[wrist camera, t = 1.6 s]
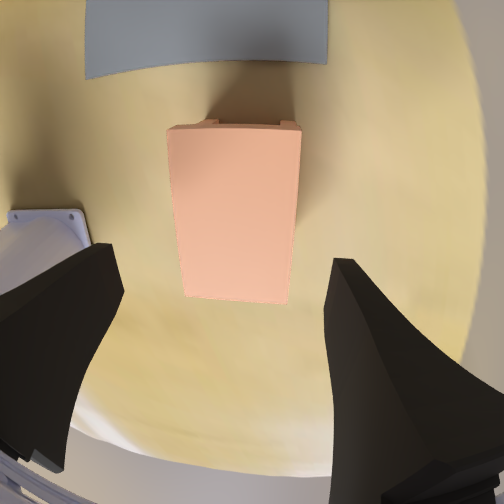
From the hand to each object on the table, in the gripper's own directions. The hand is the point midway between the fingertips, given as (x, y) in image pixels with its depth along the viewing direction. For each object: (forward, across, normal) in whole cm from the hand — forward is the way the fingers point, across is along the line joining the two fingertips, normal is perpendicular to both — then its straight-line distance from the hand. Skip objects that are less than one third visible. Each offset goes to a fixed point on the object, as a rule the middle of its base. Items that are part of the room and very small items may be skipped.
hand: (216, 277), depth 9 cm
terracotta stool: (+10, 0, 0) cm, 10 cm away
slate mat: (+9, +3, -13) cm, 16 cm away
